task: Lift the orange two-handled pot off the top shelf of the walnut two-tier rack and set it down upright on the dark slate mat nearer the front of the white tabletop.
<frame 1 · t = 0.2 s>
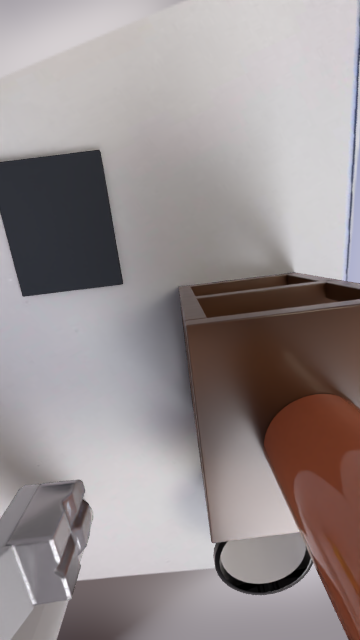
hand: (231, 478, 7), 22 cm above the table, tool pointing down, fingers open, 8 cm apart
bottle: (67, 514, 35), on the table
mat: (60, 227, 26), on the table
rack: (241, 344, 29), on the table
mug: (238, 486, 34), on the table
orange two-handled pot: (315, 440, 15), point 15 cm above the table, touching rack
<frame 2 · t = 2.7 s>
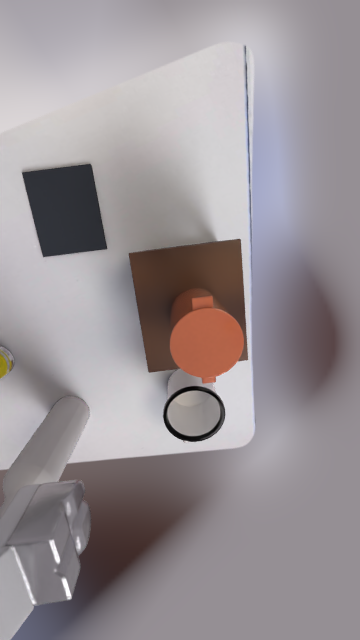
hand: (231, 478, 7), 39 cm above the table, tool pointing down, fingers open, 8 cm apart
bottle: (72, 411, 51), on the table
mat: (67, 212, 41), on the table
rack: (185, 289, 45), on the table
mug: (189, 391, 50), on the table
orange two-handled pot: (195, 313, 31), point 15 cm above the table, touching rack
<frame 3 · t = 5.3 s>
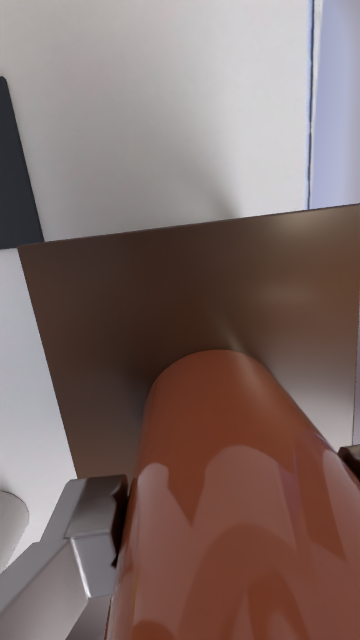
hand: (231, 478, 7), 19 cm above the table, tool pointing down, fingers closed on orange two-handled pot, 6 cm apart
bottle: (0, 512, 31), on the table
rack: (187, 317, 26), on the table
orange two-handled pot: (214, 415, 11), point 15 cm above the table, touching gripper, rack
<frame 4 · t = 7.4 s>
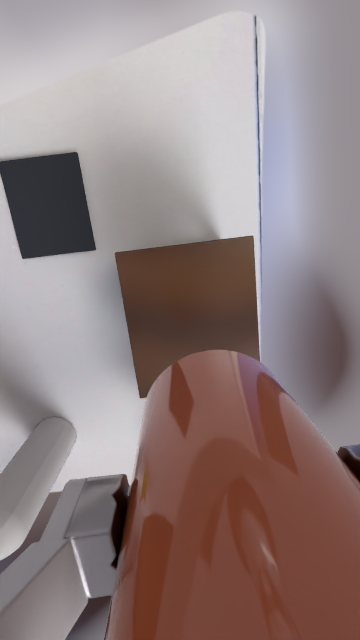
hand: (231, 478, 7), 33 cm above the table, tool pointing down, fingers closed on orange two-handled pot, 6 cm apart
bottle: (56, 433, 45), on the table
mat: (49, 208, 36), on the table
rack: (185, 296, 40), on the table
orange two-handled pot: (214, 415, 11), point 29 cm above the table, touching gripper
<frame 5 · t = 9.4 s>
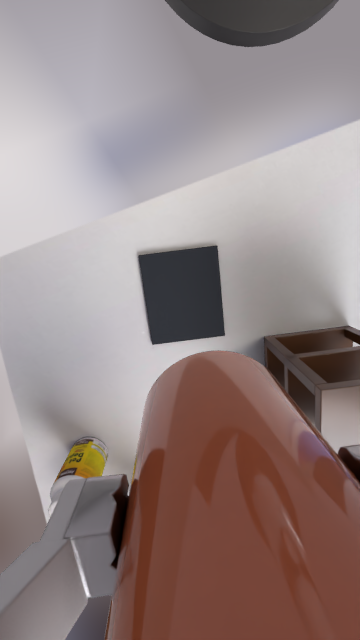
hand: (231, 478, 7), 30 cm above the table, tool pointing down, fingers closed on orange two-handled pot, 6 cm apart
mat: (183, 296, 36), on the table
rack: (306, 376, 40), on the table
supplement bottle: (90, 450, 42), on the table
orange two-handled pot: (214, 416, 11), point 26 cm above the table, touching gripper
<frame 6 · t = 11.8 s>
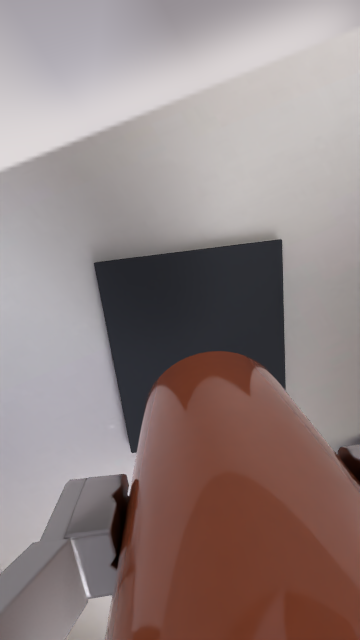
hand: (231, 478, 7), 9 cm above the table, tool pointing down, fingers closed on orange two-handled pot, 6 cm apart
mat: (198, 353, 16), on the table
orange two-handled pot: (214, 417, 11), point 6 cm above the table, touching gripper
when the fingers open (4 cm above the table, at t = 13.8 s): orange two-handled pot stays where it is, resting on mat.
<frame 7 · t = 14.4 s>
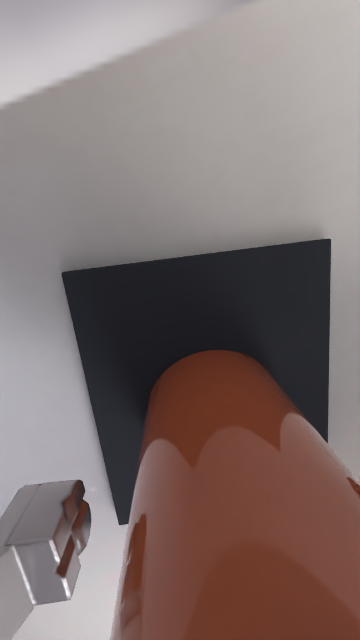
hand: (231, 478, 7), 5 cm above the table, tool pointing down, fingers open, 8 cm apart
mat: (209, 394, 12), on the table
orange two-handled pot: (214, 413, 12), resting on mat
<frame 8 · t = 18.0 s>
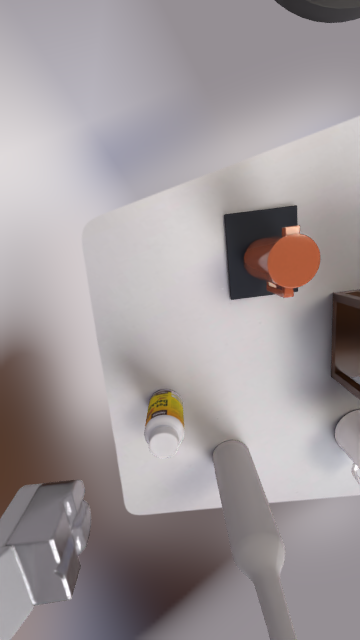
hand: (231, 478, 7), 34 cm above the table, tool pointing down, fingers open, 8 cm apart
bottle: (230, 455, 48), on the table
mat: (261, 254, 39), on the table
mug: (354, 435, 48), on the table
supplement bottle: (165, 402, 45), on the table
orange two-handled pot: (263, 258, 39), resting on mat
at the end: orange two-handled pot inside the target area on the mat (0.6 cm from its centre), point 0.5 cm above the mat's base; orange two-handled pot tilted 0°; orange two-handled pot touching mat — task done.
